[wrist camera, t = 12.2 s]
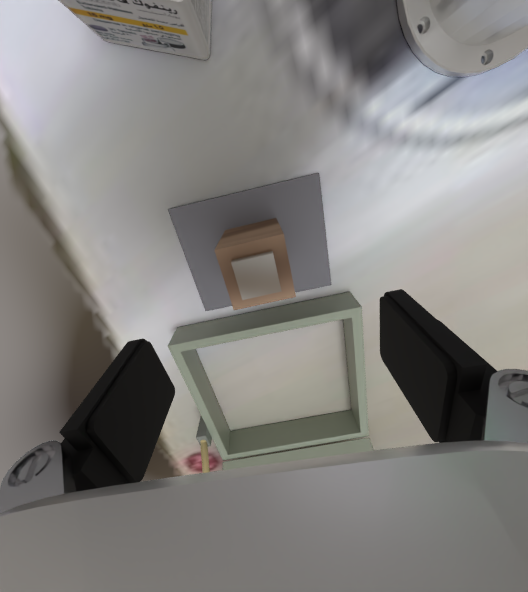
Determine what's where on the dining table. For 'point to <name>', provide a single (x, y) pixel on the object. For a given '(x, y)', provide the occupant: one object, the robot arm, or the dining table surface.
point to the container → (150, 23)
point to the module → (255, 264)
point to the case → (288, 431)
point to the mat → (247, 210)
